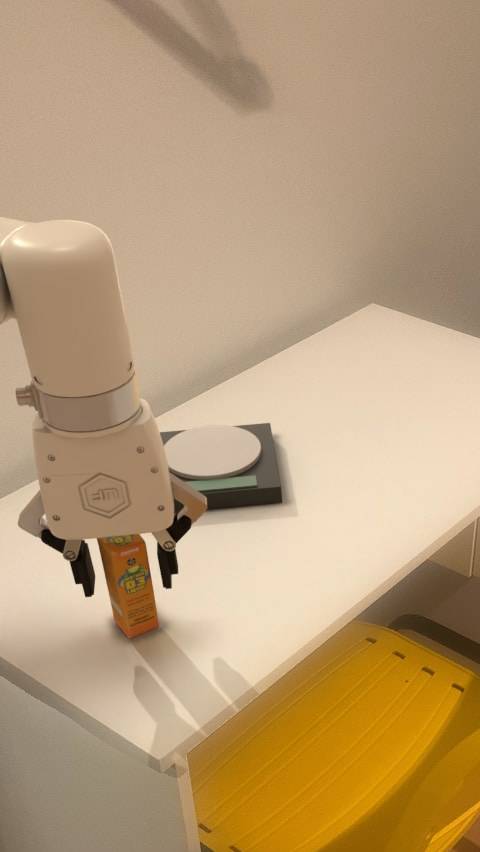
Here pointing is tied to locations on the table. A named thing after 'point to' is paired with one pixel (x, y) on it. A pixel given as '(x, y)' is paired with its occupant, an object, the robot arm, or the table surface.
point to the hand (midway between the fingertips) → (129, 581)
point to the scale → (225, 464)
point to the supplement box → (129, 583)
